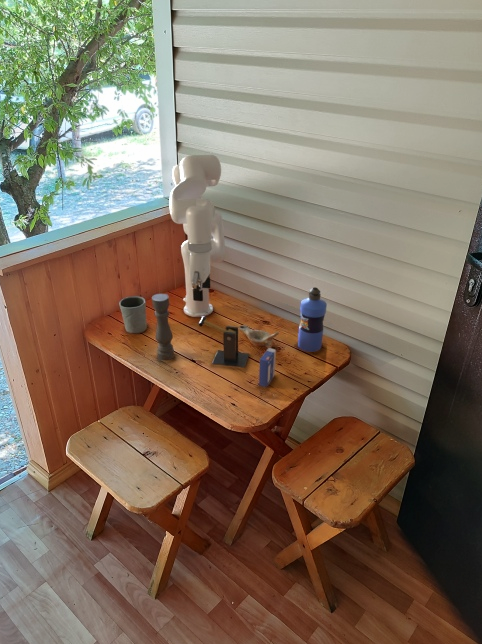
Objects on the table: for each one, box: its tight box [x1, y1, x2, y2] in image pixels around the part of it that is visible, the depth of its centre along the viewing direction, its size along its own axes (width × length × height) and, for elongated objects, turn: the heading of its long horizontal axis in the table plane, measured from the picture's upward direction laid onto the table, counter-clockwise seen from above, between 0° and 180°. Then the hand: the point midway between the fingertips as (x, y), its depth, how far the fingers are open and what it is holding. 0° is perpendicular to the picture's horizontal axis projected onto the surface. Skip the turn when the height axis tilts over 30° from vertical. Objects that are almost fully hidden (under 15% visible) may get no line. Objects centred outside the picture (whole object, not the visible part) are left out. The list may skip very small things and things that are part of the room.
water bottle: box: [297, 287, 328, 353], centre depth 176 cm, size 9×9×25 cm
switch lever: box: [198, 316, 236, 334], centre depth 168 cm, size 13×5×2 cm, turn 80°
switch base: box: [212, 325, 250, 368], centre depth 171 cm, size 12×9×13 cm
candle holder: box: [151, 293, 175, 363], centre depth 169 cm, size 6×6×25 cm
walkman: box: [258, 347, 277, 388], centre depth 161 cm, size 8×3×12 cm, turn 156°
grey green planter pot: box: [118, 295, 148, 334], centre depth 191 cm, size 10×10×12 cm
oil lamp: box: [238, 324, 280, 349], centre depth 183 cm, size 9×21×10 cm, turn 40°
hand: (202, 294), depth 162 cm, fingers open, 9 cm apart
